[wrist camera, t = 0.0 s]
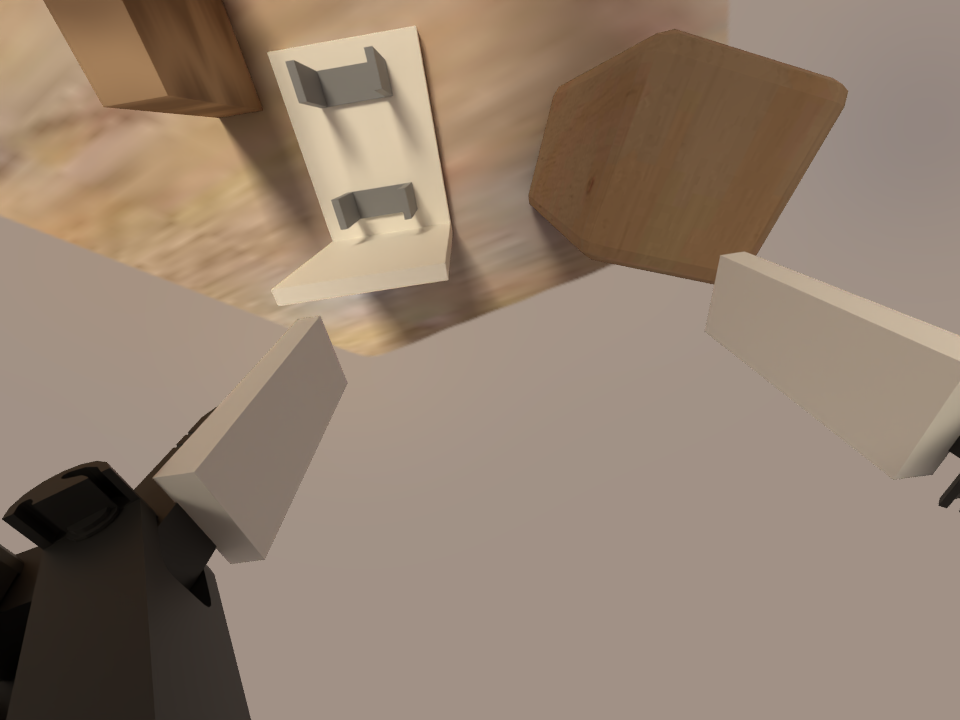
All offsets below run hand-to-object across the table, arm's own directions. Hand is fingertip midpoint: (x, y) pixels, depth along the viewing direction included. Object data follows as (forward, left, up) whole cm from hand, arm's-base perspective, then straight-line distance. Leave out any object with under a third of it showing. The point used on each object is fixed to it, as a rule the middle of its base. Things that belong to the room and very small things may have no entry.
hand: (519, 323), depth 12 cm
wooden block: (-2, +11, -28) cm, 30 cm away
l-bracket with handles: (-6, -9, -28) cm, 30 cm away
